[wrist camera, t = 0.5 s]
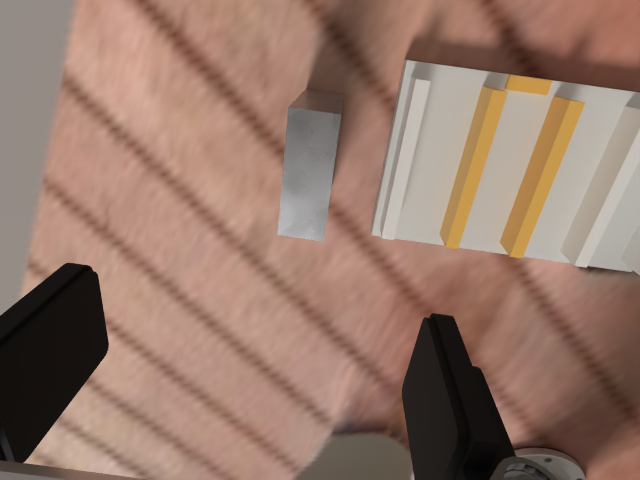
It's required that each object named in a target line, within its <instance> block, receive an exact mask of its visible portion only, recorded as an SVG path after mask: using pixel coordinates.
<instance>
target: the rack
mask: <svg viewBox="0 0 640 480" xmlns="http://www.w3.org/2000/svg"><path fill="white" fill-rule="evenodd" d="M371 235H374V236H381V238H383V239H390V240H394V238H395V239H402V240H410V241H417V242H424V243H431V244H438V245H445V247H446V248H453V249H458V247H459V248H466V249H473V250H480V251H487V252H494V253H501V254H508V255H509V256H510V257H516V258H523V257H529V258H536V259H543V260H550V261H557V262H565V263H572V264H573V265H574V266H580V267H587V266H593V267H600V268H607V269H614V270H621V271H628V272H632V271H635V272H636V273H637V274H638V275H640V92H634V91H627V90H620V89H613V88H605V87H598V86H591V85H584V84H577V83H570V82H563V81H555V80H548V79H541V78H534V77H527V76H520V75H512V74H505V73H498V72H491V71H484V70H477V69H469V68H462V67H455V66H448V65H441V64H434V63H426V62H419V61H412V60H404V65H403V69H402V74H401V79H400V84H399V89H398V94H397V99H396V104H395V109H394V114H393V119H392V124H391V129H390V134H389V139H388V144H387V149H386V154H385V159H384V164H383V169H382V174H381V179H380V184H379V189H378V194H377V199H376V204H375V209H374V214H373V219H372V224H371Z"/></svg>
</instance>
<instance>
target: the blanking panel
mask: <svg viewBox="0 0 640 480" xmlns="http://www.w3.org/2000/svg"><path fill="white" fill-rule="evenodd" d="M343 99H344V94H341V93H334V92H327V91H320V90H313V89H305V90H304V91H303V92H302V93H301V95H300V96H299V97H298V98H297V99H296V100H295V101H294V102H293V103H292V104H291V105H290V106H289V107H288V118H287V130H286V141H285V153H284V165H283V177H282V189H281V200H280V212H279V224H278V235H282V236H289V237H296V238H303V239H310V240H317V241H323V240H324V234H325V227H326V220H327V213H328V206H329V199H330V192H331V185H332V178H333V171H334V164H335V157H336V150H337V143H338V136H339V129H340V122H341V116H342V107H343Z"/></svg>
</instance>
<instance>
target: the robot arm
mask: <svg viewBox="0 0 640 480" xmlns="http://www.w3.org/2000/svg"><path fill="white" fill-rule="evenodd" d="M108 346H109V343H108V336H107V330H106V324H105V317H104V311H103V304H102V298H101V292H100V285H99V279H98V274H97V273H96V272H94V271H93V270H92V268H91V267H90V266H88V265H81V264H74V263H66V264H64V265H63V266H62V267H60V268H59V269H58V270H57V271H55V272H54V273H53V274H52V275H50V276H49V277H48V278H47V279H45V280H44V281H43V282H42V283H40V284H39V285H38V286H37V287H35V288H34V289H33V290H32V291H30V292H29V293H28V294H27V295H25V296H24V297H23V298H22V299H20V300H19V301H18V302H17V303H15V304H14V305H13V306H12V307H11V308H9V309H8V310H7V311H6V312H4V313H3V314H2V315H1V316H0V480H146V479H139V478H132V477H124V476H117V475H109V474H102V473H94V472H86V471H79V470H71V469H64V468H56V467H48V466H41V465H33V464H26V463H23V462H25V461H26V460H27V458H28V457H29V456H30V455H31V453H32V452H33V451H34V449H35V448H36V447H37V445H38V444H39V443H40V441H41V440H42V439H43V438H44V436H45V435H46V434H47V432H48V431H49V430H50V428H51V427H52V426H53V424H54V423H55V422H56V420H57V419H58V418H59V416H60V415H61V414H62V412H63V411H64V410H65V409H66V407H67V406H68V405H69V403H70V402H71V401H72V399H73V398H74V397H75V395H76V394H77V393H78V391H79V390H80V389H81V387H82V386H83V385H84V383H85V382H86V381H87V379H88V378H89V377H90V376H91V374H92V373H93V372H94V370H95V369H96V368H97V366H98V365H99V364H100V362H101V361H102V360H103V358H104V357H105V355H106V353H107V351H108ZM402 399H403V406H404V412H405V419H406V425H407V432H408V438H409V445H410V452H411V458H412V465H413V471H414V478H415V480H586V478H585V475H584V473H583V471H582V469H581V467H580V466H579V465H578V463H577V462H576V461H575V460H574V459H573V458H571V457H570V456H568V455H566V454H564V453H562V452H559V451H556V450H551V449H546V448H523V449H518V450H514V449H513V447H512V444H511V442H510V439H509V437H508V434H507V432H506V429H505V427H504V424H503V422H502V419H501V417H500V414H499V412H498V409H497V407H496V404H495V402H494V400H493V397H492V395H491V392H490V390H489V387H488V385H487V382H486V380H485V377H484V375H483V373H482V371H481V369H480V368H478V367H475V366H472V364H471V361H470V358H469V356H468V353H467V351H466V348H465V345H464V343H463V340H462V337H461V335H460V332H459V330H458V327H457V324H456V322H455V319H454V317H453V316H449V315H442V314H435V313H433V314H431V315H430V318H426V317H425V318H424V319H423V321H422V324H421V327H420V331H419V334H418V337H417V341H416V344H415V347H414V350H413V354H412V357H411V360H410V363H409V367H408V370H407V373H406V376H405V380H404V383H403V388H402Z"/></svg>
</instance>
